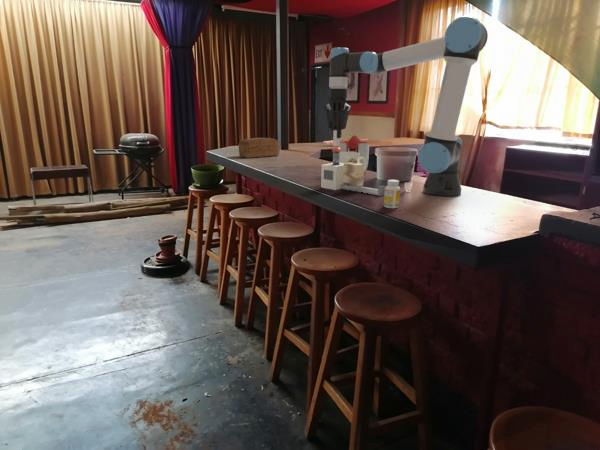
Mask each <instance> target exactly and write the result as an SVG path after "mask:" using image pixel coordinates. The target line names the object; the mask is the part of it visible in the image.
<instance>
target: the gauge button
mask: <svg viewBox="0 0 600 450" xmlns="http://www.w3.org/2000/svg"><path fill="white" fill-rule="evenodd" d="M331 151H332V163H333V165H339V157H340V151H341V148H339V147H332V148H331Z"/></svg>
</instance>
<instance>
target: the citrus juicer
mask: <svg viewBox="0 0 600 450" xmlns="http://www.w3.org/2000/svg"><path fill="white" fill-rule="evenodd" d="M370 143H371V141H369V140H362V139H360V138H359V137H358V136H357V135H356V134H353V135H352V137H350V138H349V139H344V140H343V139H342V140H341V139H340V146H338V148H341V151H340V152H357V153H360V155H359V157H364V158H365V159H366V161H367V167H366V170H365V172H364V175H365V174H366V171H367V169H368V166H369V157H370ZM359 162H360V164H364V160H360V161H359Z"/></svg>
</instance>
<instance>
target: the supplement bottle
mask: <svg viewBox="0 0 600 450" xmlns="http://www.w3.org/2000/svg"><path fill="white" fill-rule="evenodd" d="M386 184H387V185H386V186H385V192H384V199H383V200H384V201H383V206H384V207H385V208H387V209H396V208H399V206H400V199H401V198H400V196H401V187H400V186H399V184H400V180H399V179H388V180H387V183H386Z"/></svg>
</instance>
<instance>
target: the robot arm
mask: <svg viewBox="0 0 600 450" xmlns="http://www.w3.org/2000/svg"><path fill="white" fill-rule="evenodd" d="M487 42H488V31H487V28H486V27H485V25H484V24H483V23H481V21H480V20H479V19H478V18H476V17H474V16H469V15H463V16H459V17H457V18H455V19H454V20H452V21H451V22H450V23H449V25H448V26H447V27H446V30H445V32H444V36H441V37H437V38H433V39H429V40H425V41H421V42H418V43H415V44H411V45H406V46H403V47H402V46H401V47H399V48H396V49H391V50H387V51H383V52H380V53H376V52H374V51H362V52H350V50H349V48H348V47H332V48H331V49H330V54H329V77H328V81H329V83H328V87H329V89H328V97H329V101H328V103H327V104H325V105H324V106H323V108H324V110H325V113H326V120H327V121H326V122H327V127H328V129H330V130H331V132H332V133H331V138H332V140H333V141H332V146H333V147H339V146H340V141H341V138H342V131H343V130H345V129H346V128H347V124H348V118H349V116H350V112H351V109H352V105H349V104H348V102H347V98H348V89H347V88H348V83H349V82H348V80H349V79H348V78H349V74H350V73H351V74H352V73H358V74H359V73H362V74H369V75H373V76H376V75H381V74H382V73H384V72H389V71H392V70H397V69H400V68H406V67H409V66H415V65H419V64H422V63H428V62H431V61H435V60H441V59H443V60H444V61H445V66H444V68H445V69H444V72H443V77H442V81H441V85H440V89H439V94H438V98H437V102H436V106H435V111H434V112H435V113H434V117H433V121H432V126H431V129H430V131H429V132H427V133H426V134H425V136H424V142H423V144H422V146H421V148H420V149H419V152H418V154H417V155H418V156H417V160H418V163H419V166H420V167H421V169H423V170H424V171H426V172H427V173H428V175H427V177H426V179H425V182H424V184H423V185H422V192H423V193H425V194H428V195H431V196H438V197H439V196H440V197H455V196H460V195H461V194H462V186H461V182H460V177H459V172H460V171H459V170H460V163H461V156H462V155H461V154H462V148H463V140H462V138H461V137H459V136H456V134H455V133H456V130H457V126H458V121H459V117H460V113H461V109H462V106H463V103H464V97H465V94H466V89H467V86H468V81H469V76H470V72H471V68H472V66H473V65H474V64H475V63H477V62H478V59H479V55H480V52H481V51H482V50H483V49H484V47H486V44H487Z"/></svg>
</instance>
